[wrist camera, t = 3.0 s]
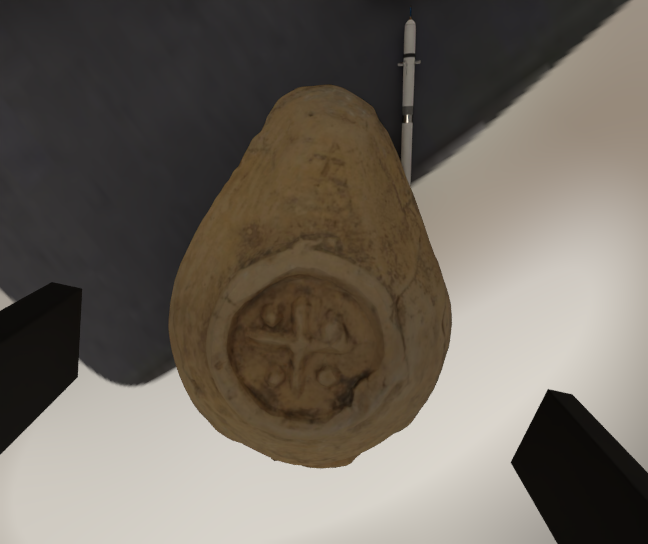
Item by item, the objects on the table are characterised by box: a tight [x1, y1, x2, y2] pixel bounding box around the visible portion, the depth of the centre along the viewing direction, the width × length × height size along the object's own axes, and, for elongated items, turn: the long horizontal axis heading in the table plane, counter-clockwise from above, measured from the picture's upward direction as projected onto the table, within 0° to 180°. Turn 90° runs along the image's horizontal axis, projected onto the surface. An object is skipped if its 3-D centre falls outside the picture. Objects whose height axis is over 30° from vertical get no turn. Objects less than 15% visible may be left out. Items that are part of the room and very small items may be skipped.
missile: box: [398, 6, 421, 185], centre depth 17 cm, size 10×1×1 cm
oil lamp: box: [168, 84, 452, 468], centre depth 16 cm, size 11×15×8 cm
